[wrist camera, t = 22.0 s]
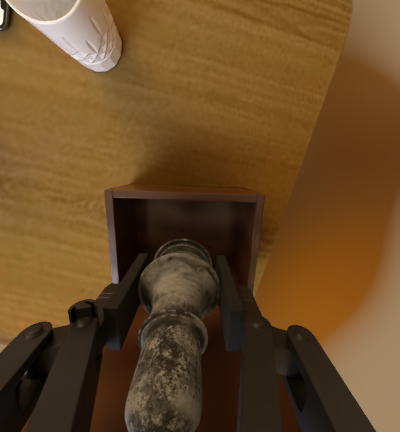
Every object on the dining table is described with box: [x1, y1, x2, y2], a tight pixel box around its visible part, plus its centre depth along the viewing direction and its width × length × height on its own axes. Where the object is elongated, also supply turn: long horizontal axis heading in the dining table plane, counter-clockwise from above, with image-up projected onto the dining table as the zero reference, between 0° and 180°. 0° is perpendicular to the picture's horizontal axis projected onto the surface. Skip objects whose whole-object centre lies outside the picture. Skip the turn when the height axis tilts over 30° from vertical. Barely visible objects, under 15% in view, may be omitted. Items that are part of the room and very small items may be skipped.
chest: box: [104, 184, 265, 295], centre depth 28 cm, size 15×19×9 cm
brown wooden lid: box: [21, 303, 302, 432], centre depth 17 cm, size 16×19×8 cm
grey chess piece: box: [125, 239, 221, 432], centre depth 11 cm, size 6×6×12 cm
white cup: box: [5, 0, 122, 72], centre depth 21 cm, size 8×8×10 cm
